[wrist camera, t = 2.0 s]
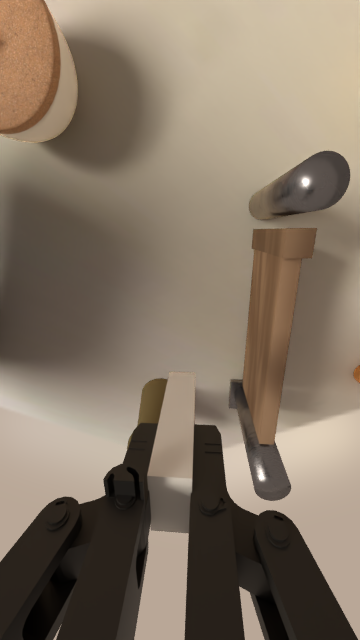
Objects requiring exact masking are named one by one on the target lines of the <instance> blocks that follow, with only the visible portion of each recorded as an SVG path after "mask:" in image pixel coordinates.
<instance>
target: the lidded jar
mask: <svg viewBox="0 0 360 640" xmlns="http://www.w3.org/2000/svg"><path fill="white" fill-rule="evenodd" d="M77 98H78V82H77V75H76V69H75V65H74V62H73V58H72V55H71V52H70V49H69V47H68V44H67V42H66V40H65V37H64V35H63V33H62V31H61V29H60V27H59V25H58V24H57V22H56V20H55V18H54V17H53V15H52V13H51V12H50V10H49V9H48V7H47V5H46V3H45V1H44V0H0V135H1V136H4V137H6V138H10V139H14V140H17V141H21V142H31V143H38V142H44V141H48V140H51V139H53V138H55V137H57V136H58V135H60V134H61V133H62V132H63V131H64V130H65V129H66V127H67V126H68V125H69V123H70V121H71V120H72V118H73V115H74V112H75V109H76V105H77Z"/></svg>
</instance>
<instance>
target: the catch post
mask: <svg viewBox="0 0 360 640" xmlns="http://www.w3.org/2000/svg"><path fill="white" fill-rule="evenodd" d="M354 378H355V379H356V380H357V381H358V382H359V383H360V365H359V366H358V367H357V368H356V369H355V371H354Z"/></svg>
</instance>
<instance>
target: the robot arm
mask: <svg viewBox="0 0 360 640" xmlns="http://www.w3.org/2000/svg"><path fill="white" fill-rule="evenodd" d="M194 424H195V373H191V372H169V377H168V381H167V386H166V390H165V395H164V400H163V404H162V409H161V414H160V418H159V423H140V424H139V425H138V426H137V427H136V429H135V430H134V431H133V434H132V437H131V441H130V443H129V446H128V450H127V453H126V455H125V459H124V461H123V464H120V465H118V466H116V467H113V468H112V469H111V470H110V471H109V472H108V473H107V474H106V476H105V478H104V487H105V494H106V495H105V496H103V497H101V498H99V499H96V500H94V501H90V502H86V503H83V504H78V501H77V500H75V499H74V498H72V497H62V498H58V499H56V500H54V501H52V502H51V503H49V504H48V505H47V506H46V507H45V508H44V509H43V510H42V511H41V512H40V513H39V514H38V516H37V517H36V519H34V521H33V522H32V523H31V524H30V526H29V527H28V528H27V530H26V531H25V532H24V533H23V534H22V536H21V537H20V538H19V539H18V541H17V542H16V543H15V544H14V546H13V547H12V548H11V549H10V551H9V552H8V553H7V554H6V556H5V557H4V558H3V559H2V561H1V562H0V640H53V639H54V637H55V635H56V633H57V631H58V629H59V627H60V626H61V627H60V630H59V633H58V636H57V639H56V640H134V636H135V630H136V623H137V618H138V611H139V605H140V599H141V598H140V597H141V592H142V586H143V580H144V574H145V567H146V561H147V555H148V535H149V529H150V525H151V530H155V531H167V532H179V533H180V532H181V533H189V543H188V568H187V569H188V570H187V594H186V621H185V640H245V637H244V629H243V619H242V609H241V600H240V591H239V586H240V587H242V588H243V589H246V590H247V591H249V592H250V594H251V598H252V601H253V604H254V607H255V610H256V613H257V616H258V620H259V623H260V626H261V629H262V632H263V636H264V639H265V640H358V639H357V637H356V635H355V633H354V631H353V629H352V628H351V626H350V624H349V622H348V620H347V618H346V617H345V615H344V613H343V611H342V609H341V607H340V605H339V604H338V602H337V600H336V598H335V596H334V595H333V593H332V591H331V589H330V588H329V585H328V583H327V582H326V580H325V578H324V576H323V574H322V572H321V571H320V569H319V567H318V565H317V563H316V561H315V560H314V558H313V556H312V554H311V552H310V550H309V548H308V547H307V545H306V543H305V541H304V539H303V538H302V536H301V534H300V532H299V530H298V528H297V527H296V526H295V524H294V523H293V522H292V520H290V519H289V518H288V517H287V516H285V515H284V514H282V513H280V512H277V511H270V510H267V511H264V512H262V513H260V514H259V516H258V515H256V514H253V513H251V512H249V511H246V510H244V509H242V508H241V507H239V506H238V505H237V504H236V503H234V501H233V500H232V499H231V498H230V496H229V494H228V492H227V488H226V480H225V470H224V462H223V451H222V441H221V434H220V432H219V431H218V429H217V427H216V426H214V425H194ZM61 624H62V625H61Z"/></svg>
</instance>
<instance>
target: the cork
mask: <svg viewBox="0 0 360 640" xmlns="http://www.w3.org/2000/svg"><path fill="white" fill-rule="evenodd" d="M167 381H168V380H167V379H162V378H161V379H154V380H152V381H149V382H148V383H147V384H146V385H145V386H144V388H143V390H142V396H141V404H140V411H139V419H138V425H139V424H140V423H159V418H160V414H161V409H162V404H163V400H164V395H165V390H166V386H167ZM132 434H133V433H132ZM131 437H132V435H131V436H130V438H129V441H128V446H129V443H130V441H131ZM127 450H128V447H127Z"/></svg>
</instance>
